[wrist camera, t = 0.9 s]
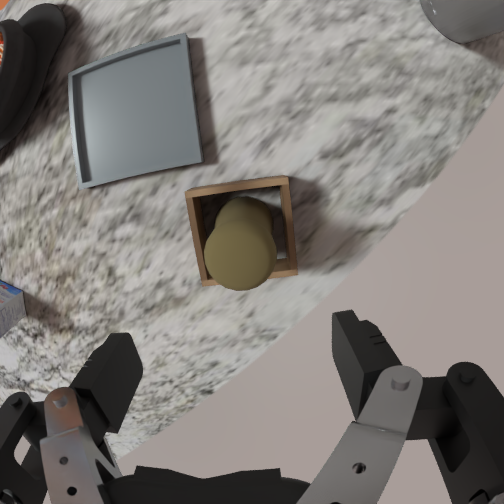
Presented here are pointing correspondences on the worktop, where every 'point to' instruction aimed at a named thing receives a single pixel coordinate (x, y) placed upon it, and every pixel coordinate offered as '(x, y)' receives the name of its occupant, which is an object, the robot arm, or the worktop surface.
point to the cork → (241, 245)
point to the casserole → (26, 64)
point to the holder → (193, 195)
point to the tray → (134, 112)
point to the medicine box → (10, 307)
